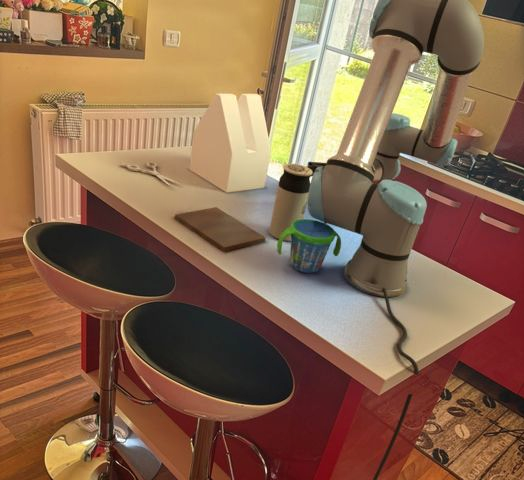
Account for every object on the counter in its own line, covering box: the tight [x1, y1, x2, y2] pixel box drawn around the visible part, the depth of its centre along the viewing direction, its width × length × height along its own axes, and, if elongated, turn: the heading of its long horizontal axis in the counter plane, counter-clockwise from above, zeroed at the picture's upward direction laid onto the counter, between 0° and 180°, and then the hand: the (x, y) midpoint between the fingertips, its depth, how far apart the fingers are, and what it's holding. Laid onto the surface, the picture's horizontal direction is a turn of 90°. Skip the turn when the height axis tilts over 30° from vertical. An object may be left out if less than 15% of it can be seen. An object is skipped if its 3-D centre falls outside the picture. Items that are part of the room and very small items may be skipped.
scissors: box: [120, 161, 180, 187], centre depth 163 cm, size 11×1×20 cm
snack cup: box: [276, 218, 342, 274], centre depth 130 cm, size 16×10×10 cm
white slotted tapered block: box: [189, 93, 272, 193], centre depth 166 cm, size 19×15×25 cm
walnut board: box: [174, 206, 266, 253], centre depth 141 cm, size 20×14×1 cm
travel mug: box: [268, 163, 313, 242], centre depth 141 cm, size 8×8×18 cm
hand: (317, 182), depth 144 cm, fingers open, 13 cm apart
